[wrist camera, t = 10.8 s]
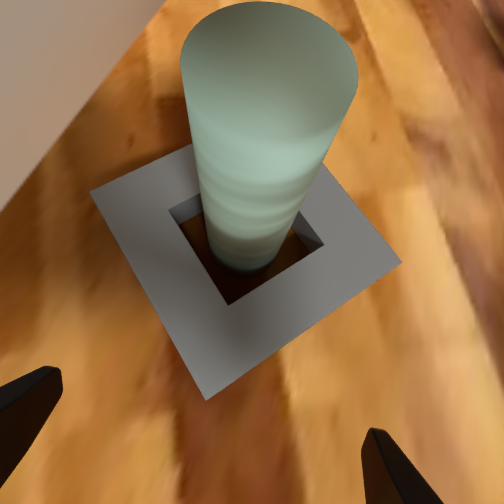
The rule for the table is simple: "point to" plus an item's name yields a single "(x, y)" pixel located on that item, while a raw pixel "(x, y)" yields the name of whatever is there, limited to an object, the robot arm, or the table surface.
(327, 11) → the table surface
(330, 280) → the holder board
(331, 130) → the peg
